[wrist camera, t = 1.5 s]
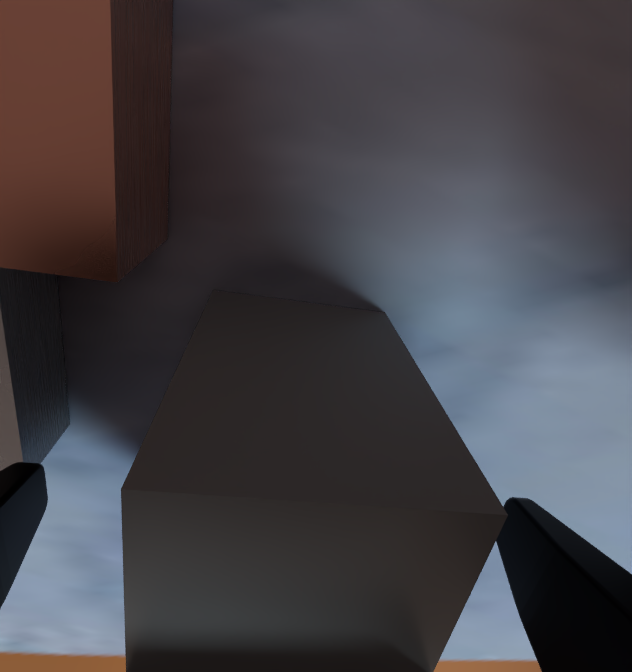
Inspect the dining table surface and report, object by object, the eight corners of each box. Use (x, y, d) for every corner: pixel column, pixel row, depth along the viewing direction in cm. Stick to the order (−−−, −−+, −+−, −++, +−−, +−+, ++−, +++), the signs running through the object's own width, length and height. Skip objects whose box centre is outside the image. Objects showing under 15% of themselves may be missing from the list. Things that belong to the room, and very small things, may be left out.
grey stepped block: (384, 311, 10) (579, 632, 3) (337, 500, 12) (399, 897, 6) (213, 289, 9) (60, 618, 3) (199, 490, 12) (98, 917, 5)
